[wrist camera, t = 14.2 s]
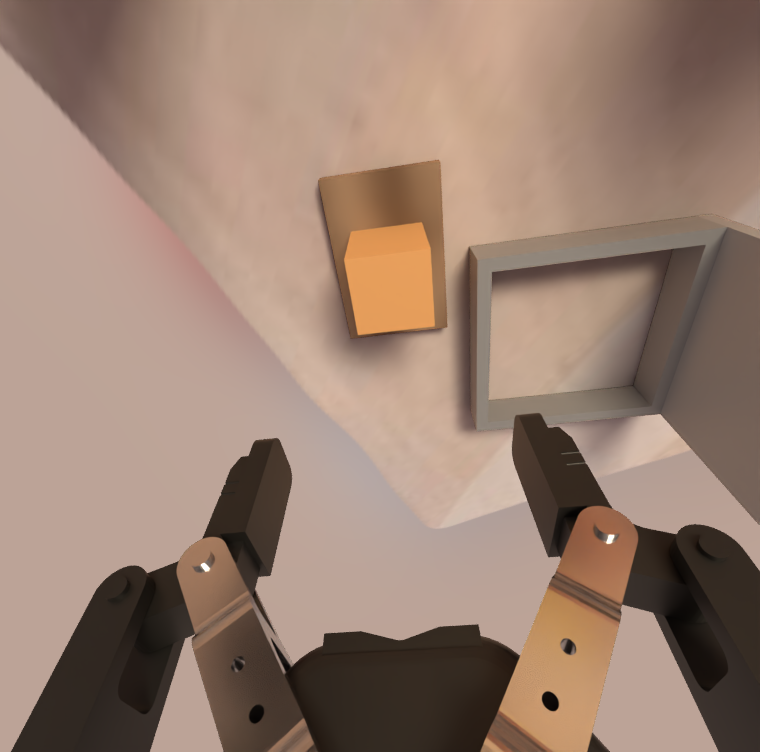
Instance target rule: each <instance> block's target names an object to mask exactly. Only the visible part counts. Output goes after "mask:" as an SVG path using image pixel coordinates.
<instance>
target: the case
mask: <svg viewBox="0 0 760 752" xmlns="http://www.w3.org/2000/svg"><path fill="white" fill-rule="evenodd" d="M668 249H673V251H672V255H671V258H670V262H669V265H668V268H667V272H666V275H665V279H664V282H663V286H662V289H661V292H660V296H659V299H658V303H657V306H656V310H655V313H654V316H653V320H652V323H651V327H650V330H649V333H648V337H647V340H646V344H645V347H644V351H643V354H642V357H641V361H640V364H639V368H638V371H637V375H636V378H635V381H634V385H633V386H627V387H617V388H607V389H597V390H588V391H578V392H568V393H558V394H548V395H538V396H528V397H519V398H509V399H499V400H489V401H488V398H489V363H490V327H491V291H492V272H497V271H505V270H512V269H520V268H528V267H536V266H544V265H551V264H559V263H567V262H575V261H583V260H590V259H598V258H606V257H614V256H621V255H629V254H637V253H645V252H653V251H660V250H668ZM470 410H471V414H472V417H473V421H474V424H475V428H476V431H487V430H498V429H508V428H514V418H515V416H516V415H521V414H531V413H540V414H541V415H542V417H543V419H544V421H545V423H546V425H550V424H561V423H571V422H582V421H592V420H603V419H613V418H624V417H634V416H645V415H655V414H661V415H662V416H663V418H664V419H665V420H666V421H667V422H668V423H669V424H670V425H671V427H672V428H673V429H674V430H675V431H676V432H677V433H678V434H679V436H680V437H681V438H682V439H683V440H684V441H685V442H686V443H687V444H688V446H689V447H690V448H691V449H692V450H693V451H694V452H695V453H696V455H697V456H698V457H699V458H700V459H701V460H702V461H703V462H704V464H705V465H706V466H707V467H708V468H709V469H710V470H711V471H712V472H713V474H714V475H715V476H716V477H717V478H718V479H719V480H720V482H721V483H722V484H723V485H724V486H725V487H726V488H727V489H728V490H729V492H730V493H731V494H732V495H733V496H734V497H735V498H736V500H737V501H738V502H739V503H740V504H741V505H742V506H743V507H744V508H745V510H746V511H747V512H748V513H749V514H750V515H751V516H752V517H753V519H754V520H755V521H756V522H757V523H758V524H759V525H760V230H758V229H755V228H752V227H749V226H746V225H743V224H740V223H737V222H734V221H731V220H728V219H726V218H723V217H720V216H717V215H714V214H708V215H701V216H693V217H686V218H678V219H671V220H663V221H656V222H648V223H641V224H634V225H626V226H619V227H611V228H604V229H596V230H589V231H582V232H574V233H567V234H559V235H552V236H544V237H537V238H530V239H522V240H515V241H507V242H500V243H492V244H485V245H477V246H470Z"/></svg>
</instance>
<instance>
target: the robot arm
mask: <svg viewBox="0 0 760 752" xmlns="http://www.w3.org/2000/svg"><path fill="white" fill-rule="evenodd" d="M512 456H513V461H514V465H515V468H516V471H517V473H518V476H519V479H520V481H521V484H522V487H523V490H524V492H525V495H526V498H527V501H528V503H529V506H530V509H531V511H532V514H533V517H534V520H535V522H536V525H537V528H538V531H539V533H540V536H541V539H542V541H543V544H544V547H545V550H546V552H547V555H548V557H558V556H560V558H561V560H560V563H559V565H558V568H557V570H556V573H555V575H554V576H553V577H552V579H551V581H550V583H549V585H548V588H547V590H546V593H545V595H544V598H543V600H542V603H541V605H540V608H539V610H538V613H537V615H536V618H535V620H534V623H533V625H532V628H531V630H530V633H529V636H528V638H527V640H526V643H525V645H524V648H523V650H522V653H521V655H518V654H517V653H516V652H514V651H513V650H511V649H510V648H508V647H507V646H505V645H503V644H501V643H499V642H497V641H495V640H492V639H490V638H486V637H482V636H480V631H479V626H478V625H462V626H445V627H438V628H435V629H432V630H429V631H427V632H424V633H421V634H419V635H416V636H413V637H410V638H408V639H405V640H394V639H390V638H386V637H382V636H378V635H374V634H370V633H366V632H361V631H360V632H344V633H326V634H324V642H323V646H321V647H318V648H316V649H315V650H313V651H311V652H309V653H308V654H306V655H305V656H303V657H302V658H301V659H299V660H298V661H297V662H296V663H295V664H294V665H293V663H292V661H291V659H290V657H289V655H288V654H287V652H286V650H285V648H284V646H283V645H282V643H281V641H280V639H279V637H278V635H277V633H276V631H275V629H274V627H273V625H272V622H271V620H270V618H269V616H268V614H267V612H266V610H265V608H264V606H263V604H262V602H261V600H260V598H259V596H258V594H257V592H256V590H255V587H256V583H257V579H258V577H261V576H270V575H271V571H272V567H273V562H274V558H275V554H276V549H277V545H278V541H279V536H280V532H281V527H282V523H283V519H284V515H285V510H286V506H287V502H288V497H289V493H290V489H291V484H292V473H291V468H290V465H289V463H288V460H287V458H286V455H285V453H284V450H283V448H282V445H281V442H280V440H279V439H278V438H274V439H264V440H256V441H255V442H254V443H253V446H252V448H251V451H250V454H249V456H245V457H241V458H240V459H239V460H238V461H237V462H236V464H235V465H234V466H233V467H232V468H231V470H230V472H229V475H228V477H227V480H226V485H224V487H223V490H222V492H221V496H220V497H219V499H218V502H217V505H216V507H215V509H214V512H213V514H212V517H211V519H210V522H209V524H208V527H207V529H206V531H205V534H204V536H203V538H202V539H201V540H199V541H197V542H196V543H194V544H193V545H191V546H190V547H189V548H188V549H187V550H186V551H185V552H184V554H183V555H182V556H181V558H180V560H179V561H178V562H176V563H173V564H170V565H168V566H165V567H163V568H160V569H158V570H155V571H152V572H150V573H146V571H145V570H144V569H143V568H141V567H139V566H127V567H124V568H122V569H120V570H118V571H116V572H114V573H113V574H111V575H110V576H109V577H108V578H106V579H105V580H104V581H103V583H102V584H101V585H100V586H99V587H98V588H97V590H96V592H95V593H94V595H93V597H92V599H91V601H90V603H89V604H88V606H87V608H86V610H85V612H84V614H83V616H82V618H81V620H80V622H79V623H78V625H77V627H76V629H75V631H74V633H73V635H72V637H71V639H70V641H69V643H68V645H67V646H66V648H65V650H64V652H63V654H62V656H61V658H60V660H59V662H58V663H57V665H56V667H55V669H54V671H53V673H52V675H51V677H50V679H49V681H48V682H47V684H46V686H45V688H44V690H43V692H42V694H41V696H40V698H39V700H38V701H37V704H36V705H35V707H34V709H33V711H32V713H31V715H30V717H29V719H28V720H27V722H26V724H25V726H24V728H23V730H22V732H21V734H20V736H19V738H18V739H17V742H16V743H15V745H14V747H13V749H12V751H11V752H150V749H151V746H152V743H153V740H154V736H155V733H156V730H157V727H158V724H159V721H160V717H161V714H162V711H163V707H164V705H165V701H166V698H167V695H168V692H169V688H170V685H171V682H172V679H173V676H174V672H175V669H176V666H177V663H178V660H179V656H180V653H181V650H182V647H183V643H184V640H185V638H187V637H190V636H192V635H194V634H195V636H194V637H193V638H192V647H193V651H194V654H195V657H196V661H197V664H198V667H199V671H200V674H201V677H202V681H203V684H204V687H205V691H206V693H207V697H208V700H209V704H210V707H211V710H212V714H213V717H214V721H215V724H216V727H217V731H218V734H219V737H220V741H221V744H222V747H223V750H224V752H610V751H609V750H608V749H607V748H606V747H605V746H604V745H603V744H602V743H601V741H600V740H598V738H597V737H596V736H595V735H594V734H593V733H592V731H593V727H594V723H595V719H596V715H597V711H598V707H599V703H600V699H601V695H602V691H603V687H604V683H605V679H606V675H607V671H608V667H609V664H610V660H611V656H612V652H613V648H614V644H615V640H616V636H617V632H618V628H619V624H620V619H621V606H622V605H627V606H630V607H634V608H638V609H641V610H645V611H649V612H653V613H654V615H655V617H656V619H657V621H658V623H659V626H660V628H661V630H662V632H663V634H664V636H665V638H666V641H667V643H668V645H669V647H670V649H671V651H672V653H673V655H674V657H675V660H676V661H677V664H678V666H679V668H680V670H681V672H682V675H683V676H684V679H685V681H686V683H687V685H688V687H689V689H690V692H691V694H692V696H693V698H694V700H695V702H696V704H697V706H698V708H699V711H700V713H701V715H702V717H703V719H704V721H705V723H706V725H707V728H708V730H709V732H710V734H711V736H712V738H713V740H714V742H715V745H716V747H717V749H718V751H719V752H760V571H759V570H758V568H757V567H756V566H755V564H754V563H753V562H752V560H751V559H750V557H749V556H748V555H747V553H746V552H745V551H744V550H743V548H742V547H741V546H740V545H739V544H738V543H737V542H736V541H735V540H734V539H732V538H731V537H730V536H728V535H727V534H725V533H723V532H721V531H719V530H717V529H715V528H712V527H709V526H705V525H696V524H694V525H688V526H685V527H683V528H681V529H680V530H679V531H678V533H677V534H671V533H667V532H661V531H656V530H651V529H647V528H643V527H640V526H637V525H635V524H632V522H631V521H630V520H629V519H628V518H627V517H626V516H624V515H623V514H621V513H620V512H618V511H616V510H614V509H613V508H612V507H611V506H610V504H609V502H608V501H607V499H606V497H605V495H604V494H603V492H602V490H601V488H600V487H599V485H598V483H597V481H596V480H595V478H594V476H593V474H592V472H591V471H590V469H589V467H588V465H587V464H586V463H585V460H584V458H583V457H582V455H581V453H579V450H578V448H577V446H576V444H575V442H574V441H573V439H572V437H570V436H569V435H568V434H567V433H565V432H564V431H563V430H562V429H561V428H559V427H553V428H548V427H547V425H546V423H545V421H544V419H543V417H542V415H541V414H540V413H531V414H521V415H516V416H515V418H514V429H513V441H512Z"/></svg>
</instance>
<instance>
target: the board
mask: <svg viewBox="0 0 760 752" xmlns="http://www.w3.org/2000/svg"><path fill="white" fill-rule="evenodd" d="M318 183H319V187H320V192H321V197H322V202H323V207H324V212H325V216H326V221H327V226H328V231H329V236H330V241H331V246H332V250H333V255H334V260H335V265H336V270H337V275H338V279H339V284H340V289H341V294H342V299H343V304H344V308H345V313H346V318H347V323H348V328H349V333H350V337H351V339H352V338H361V337H369V336H378V335H386V334H395V333H403V332H411V331H420V330H428V329H437V328H445V327H447V306H446V283H445V260H444V237H443V214H442V190H441V167H440V161H439V160H434V161H428V162H421V163H415V164H408V165H402V166H395V167H389V168H382V169H376V170H369V171H363V172H356V173H350V174H343V175H337V176H330V177H324V178H320V179H319V180H318ZM420 222H422V224H423V227H424V230H425V233H426V236H427V239H428V242H429V245H430V248H431V265H432V283H433V301H434V319H435V327H426V328H417V329H408V330H399V331H390V332H381V333H372V334H363V335H358V333H357V327H356V322H355V316H354V311H353V305H352V300H351V295H350V289H349V284H348V278H347V273H346V268H345V262H344V258H345V254H346V250H347V246H348V242H349V238H350V234H351V232H352V231H360V230H367V229H375V228H382V227H390V226H397V225H405V224H412V223H420Z"/></svg>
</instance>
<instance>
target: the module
mask: <svg viewBox="0 0 760 752" xmlns="http://www.w3.org/2000/svg"><path fill="white" fill-rule="evenodd" d="M344 262H345V268H346V273H347V278H348V284H349V289H350V295H351V300H352V305H353V311H354V316H355V322H356V327H357V333H358V335H363V334H372V333H381V332H390V331H399V330H408V329H417V328H426V327H435V319H434V301H433V283H432V265H431V248H430V245H429V242H428V239H427V236H426V233H425V230H424V227H423V224H422V222H420V223H412V224H405V225H397V226H390V227H382V228H375V229H367V230H360V231H352V232H351V234H350V238H349V242H348V246H347V250H346V254H345V258H344Z"/></svg>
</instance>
